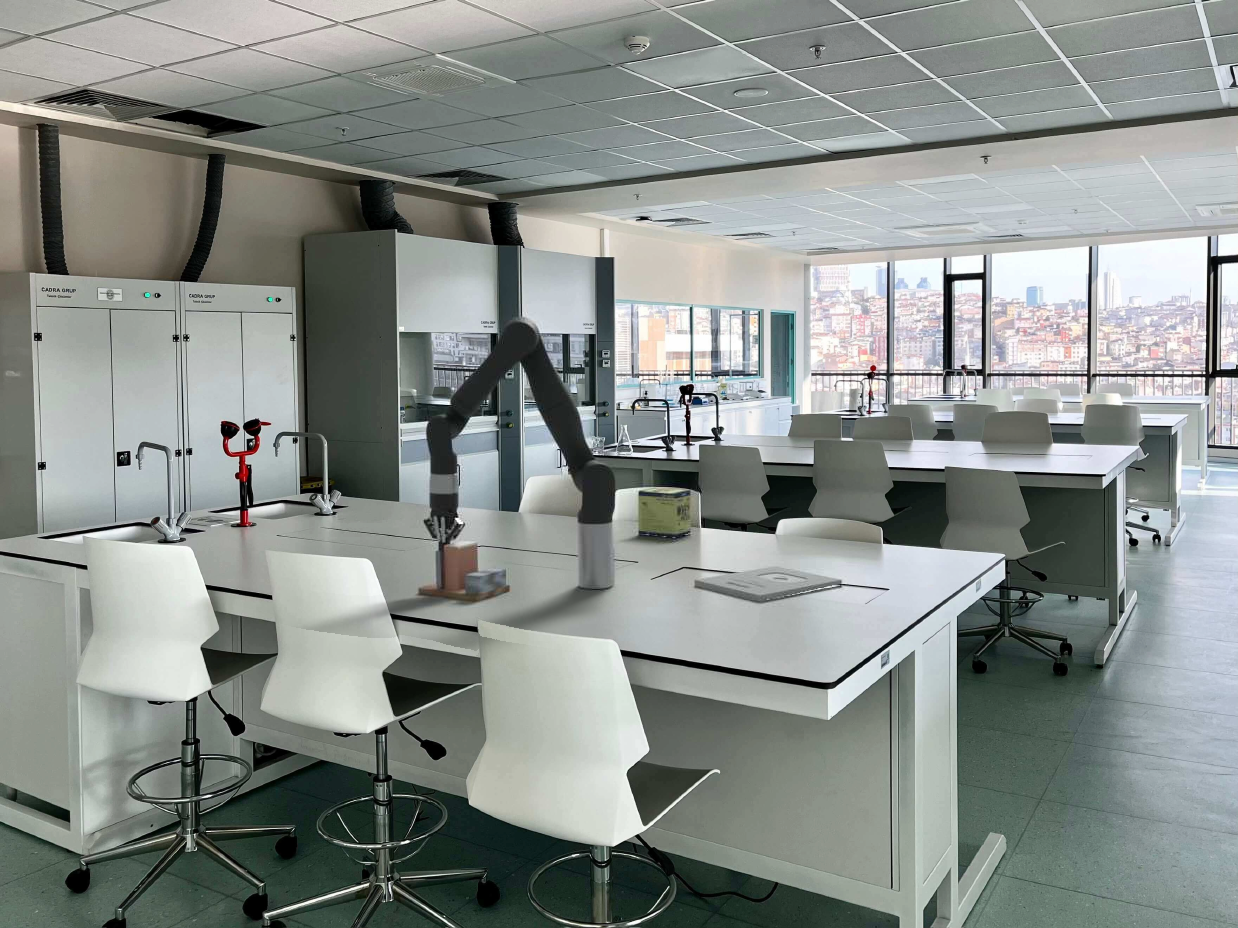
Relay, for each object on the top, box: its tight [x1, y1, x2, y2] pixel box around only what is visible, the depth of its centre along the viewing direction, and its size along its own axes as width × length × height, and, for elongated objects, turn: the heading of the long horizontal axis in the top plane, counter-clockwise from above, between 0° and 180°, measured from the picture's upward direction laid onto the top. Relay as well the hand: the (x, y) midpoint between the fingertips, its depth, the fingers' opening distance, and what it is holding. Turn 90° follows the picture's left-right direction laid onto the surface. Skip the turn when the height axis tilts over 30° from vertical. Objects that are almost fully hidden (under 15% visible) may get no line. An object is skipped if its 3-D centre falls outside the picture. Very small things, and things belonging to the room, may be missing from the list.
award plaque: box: [694, 565, 843, 602], centre depth 275 cm, size 25×30×2 cm
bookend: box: [435, 549, 445, 588], centre depth 272 cm, size 11×2×10 cm, turn 149°
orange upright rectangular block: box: [444, 540, 479, 590], centre depth 271 cm, size 8×5×11 cm, turn 149°
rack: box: [417, 567, 511, 602], centre depth 271 cm, size 14×19×6 cm
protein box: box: [637, 487, 692, 539], centre depth 360 cm, size 10×16×16 cm
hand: (444, 555), depth 274 cm, fingers closed
